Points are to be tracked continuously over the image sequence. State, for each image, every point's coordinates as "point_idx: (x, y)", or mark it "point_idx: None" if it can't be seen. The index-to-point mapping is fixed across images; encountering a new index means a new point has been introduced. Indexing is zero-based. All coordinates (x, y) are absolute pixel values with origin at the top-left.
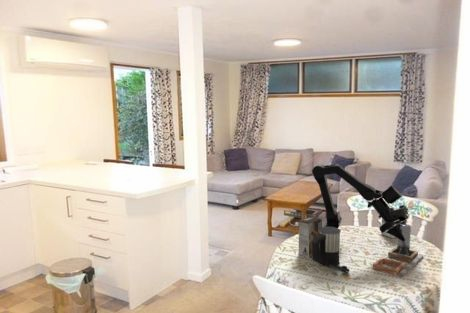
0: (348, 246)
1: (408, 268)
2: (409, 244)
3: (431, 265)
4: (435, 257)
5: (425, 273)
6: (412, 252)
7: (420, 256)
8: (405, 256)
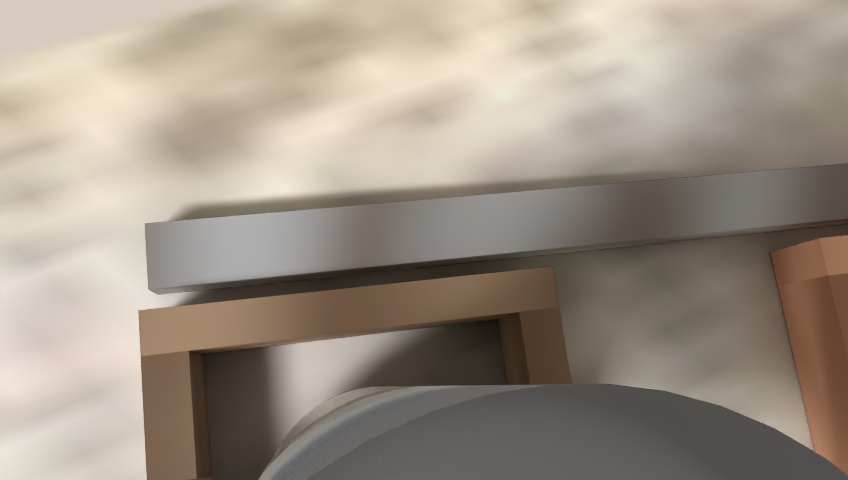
0: None
1: (838, 170)
2: (392, 386)
3: (399, 32)
4: (4, 89)
5: (711, 6)
6: (194, 397)
7: (254, 229)
8: (558, 363)
